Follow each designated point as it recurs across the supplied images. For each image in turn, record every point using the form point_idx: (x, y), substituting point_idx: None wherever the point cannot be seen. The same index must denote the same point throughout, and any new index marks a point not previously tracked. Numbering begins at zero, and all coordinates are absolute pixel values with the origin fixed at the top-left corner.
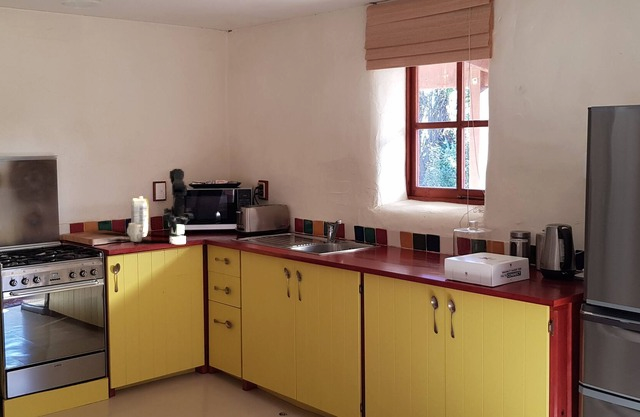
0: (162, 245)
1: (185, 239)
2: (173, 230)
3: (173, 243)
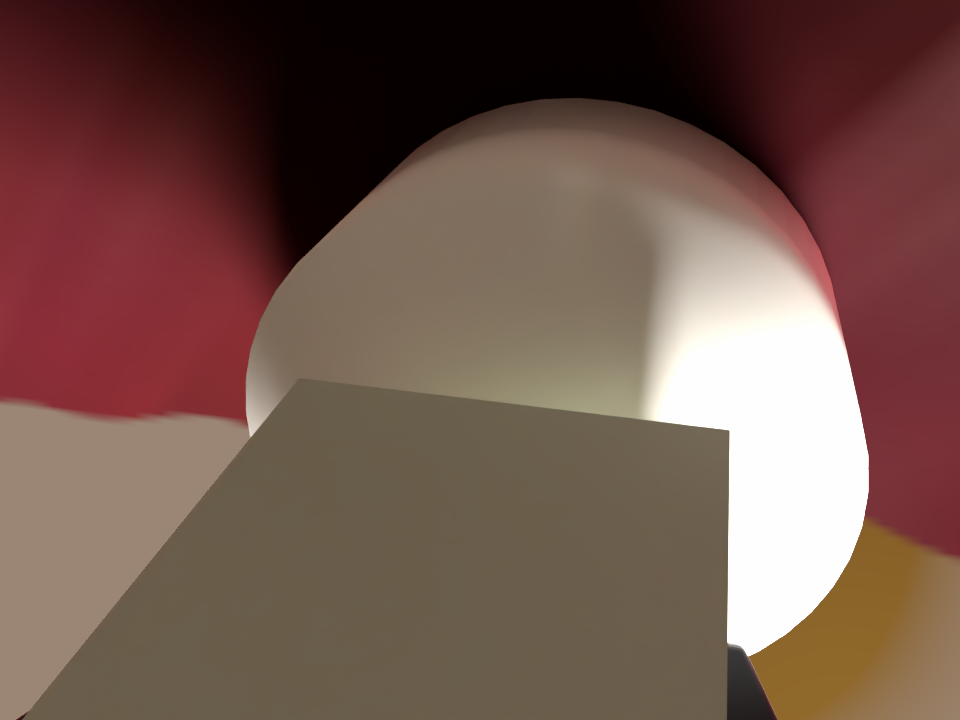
0: (34, 344)
1: None
2: None
3: None
